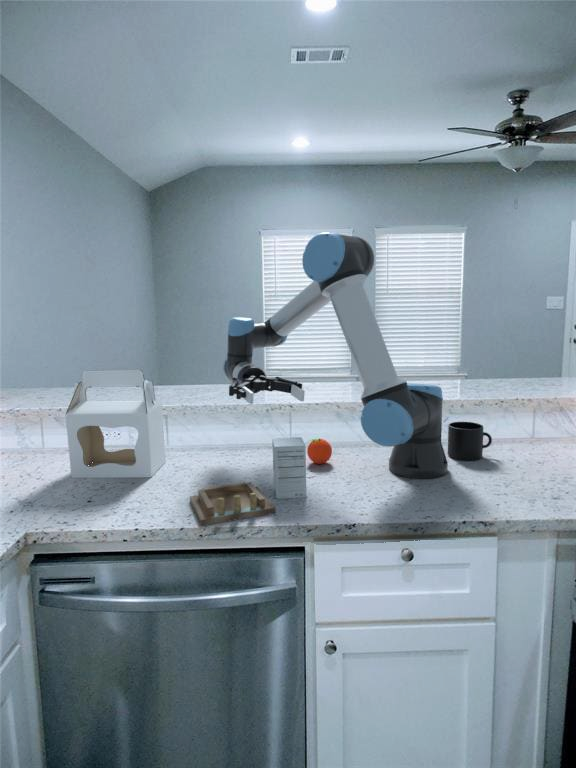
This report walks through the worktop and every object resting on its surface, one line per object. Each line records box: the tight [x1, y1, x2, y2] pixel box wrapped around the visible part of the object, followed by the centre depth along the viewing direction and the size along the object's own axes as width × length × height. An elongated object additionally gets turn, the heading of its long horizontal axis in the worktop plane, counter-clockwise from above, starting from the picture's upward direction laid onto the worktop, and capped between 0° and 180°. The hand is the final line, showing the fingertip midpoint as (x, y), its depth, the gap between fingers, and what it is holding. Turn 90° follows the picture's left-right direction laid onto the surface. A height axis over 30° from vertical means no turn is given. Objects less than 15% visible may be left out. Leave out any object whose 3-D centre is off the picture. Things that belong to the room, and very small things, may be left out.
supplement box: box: [271, 436, 308, 500], centre depth 120 cm, size 7×7×13 cm
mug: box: [447, 421, 493, 462], centre depth 145 cm, size 9×12×9 cm
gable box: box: [65, 369, 166, 479], centre depth 139 cm, size 22×13×28 cm, turn 87°
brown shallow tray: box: [189, 481, 276, 526], centre depth 113 cm, size 16×14×5 cm
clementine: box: [306, 438, 333, 465], centre depth 142 cm, size 8×7×7 cm
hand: (278, 397), depth 125 cm, fingers open, 13 cm apart
